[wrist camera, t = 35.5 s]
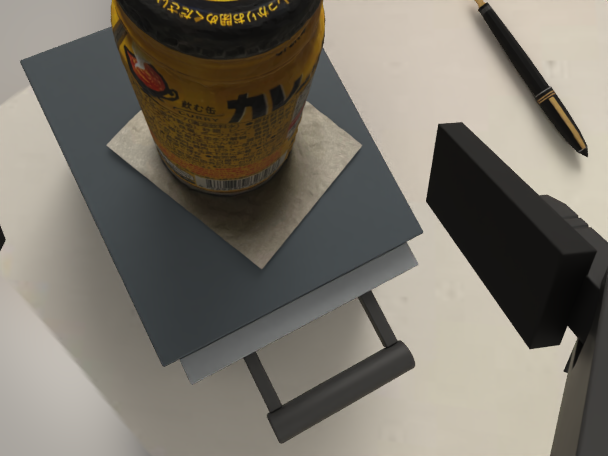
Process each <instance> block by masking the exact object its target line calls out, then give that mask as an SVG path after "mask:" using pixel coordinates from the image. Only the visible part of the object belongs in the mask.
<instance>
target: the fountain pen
mask: <svg viewBox="0 0 608 456" xmlns="http://www.w3.org/2000/svg"><path fill="white" fill-rule="evenodd" d="M475 1H476V3H477V4H478V6H479V9H478V11H479V12H480V13H481V15H482V16H483V18H484V20H485V21H486V23H487V24H488V26H489V28H490V29H491V31H492V32H493V34H494V35H495V37H496V38H497V40H498V42H499V43H500V45H501V46H502V48H503V49H504V51H505V52H506V54H507V55H508V57H509V59H510V60H511V62H512V63H513V65H514V66H515V68H516V69H517V71H518V72H519V74H520V75H521V76H522V78H523V79H524V81H525V82H526V84H527V85H528V87H529V88H530V90H531V91H532V92H533V94H534V95H535V99H536V101H537V102H538V103H539V105H540V106H541V108H542V109H543V110H544V112H545V113H546V115H547V116H548V117H549V119H550V120H551V122H552V123H553V124H554V125H555V127H556V128H557V129H558V131H559V132H560V133H561V134H562V136H563V137H564V138H565V140H566V141H567V142H568V143H569V144H570V145H571V146H572V147H573V148H574V149H575V150H576V151H577V152H578V153H580V154H582V155H584V156H586V157H588V149H587V145H586V142H585V140H584V138H583V136H582V134H581V132H580V130H579V129H578V127H577V126H576V124H575V122H574V121H573V119H572V117H571V116H570V114H569V112H568V111H567V109H566V108H565V106H564V105H563V104H562V102H561V101H560V99H559V98H558V96H557V95H556V93H555V92H554V90H553V89H552V87H549V85H548V84H547V83H546V81H545V80H544V78H543V77H542V75H541V74H540V73H539V71H538V70H537V68H536V67H535V65H534V64H533V63H532V61H531V60H530V58H529V57H528V56H527V54H526V53H525V52H524V50H523V49H522V48H521V46H520V45H519V44H518V42H517V41H516V39H515V38H514V37H513V35H512V34H511V33H510V31H509V30H508V29H507V27H506V26H505V25H504V23H503V22H502V21H501V19H500V18H499V17H498V16H497V14H496V13H495V12H494V10H493V9H492V8H491V6H490V5H489V4H488V3H484V2H483V0H475Z"/></svg>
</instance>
